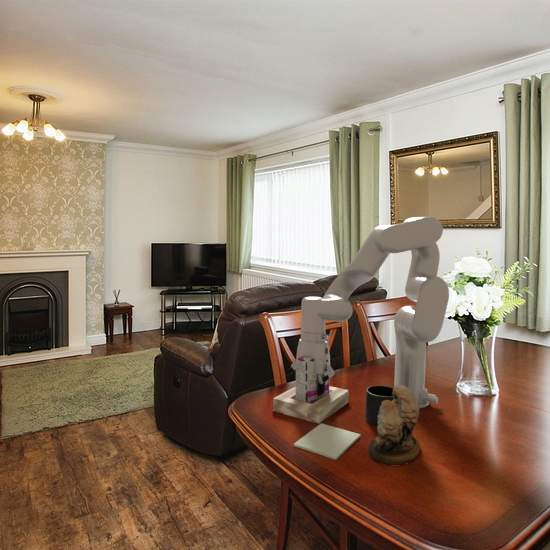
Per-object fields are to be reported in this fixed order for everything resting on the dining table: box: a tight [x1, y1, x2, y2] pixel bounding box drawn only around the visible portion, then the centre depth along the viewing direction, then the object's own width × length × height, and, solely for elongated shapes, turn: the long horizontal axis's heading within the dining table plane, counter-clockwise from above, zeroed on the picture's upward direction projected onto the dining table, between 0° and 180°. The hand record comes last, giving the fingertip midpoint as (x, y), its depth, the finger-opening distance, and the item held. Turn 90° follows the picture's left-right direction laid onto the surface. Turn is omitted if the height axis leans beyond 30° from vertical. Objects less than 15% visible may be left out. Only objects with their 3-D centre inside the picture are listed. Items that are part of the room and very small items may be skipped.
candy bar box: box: [295, 357, 330, 404], centre depth 138 cm, size 11×5×16 cm, turn 134°
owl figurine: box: [368, 385, 421, 466], centre depth 111 cm, size 18×12×17 cm, turn 147°
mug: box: [365, 385, 394, 427], centre depth 130 cm, size 9×12×9 cm
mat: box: [293, 422, 361, 460], centre depth 116 cm, size 12×15×1 cm
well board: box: [272, 385, 350, 425], centre depth 139 cm, size 16×20×4 cm
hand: (312, 391), depth 139 cm, fingers closed on candy bar box, 5 cm apart
